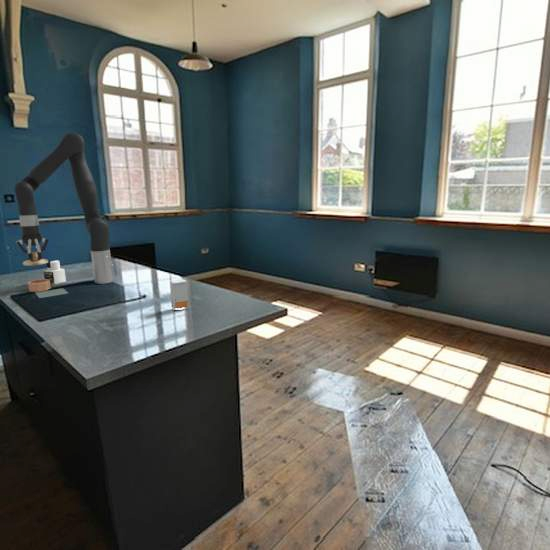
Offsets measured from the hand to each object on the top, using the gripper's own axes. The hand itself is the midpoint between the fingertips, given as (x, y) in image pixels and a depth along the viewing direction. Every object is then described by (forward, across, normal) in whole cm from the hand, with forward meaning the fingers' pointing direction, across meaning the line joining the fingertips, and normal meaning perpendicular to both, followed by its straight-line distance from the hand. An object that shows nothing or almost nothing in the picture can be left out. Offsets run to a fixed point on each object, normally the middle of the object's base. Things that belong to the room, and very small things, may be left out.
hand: (35, 260), depth 184 cm
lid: (+2, 0, 0) cm, 2 cm away
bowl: (+15, 0, 0) cm, 15 cm away
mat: (+15, -3, +12) cm, 19 cm away
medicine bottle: (+15, -9, -12) cm, 21 cm away
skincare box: (+15, -38, +75) cm, 85 cm away
